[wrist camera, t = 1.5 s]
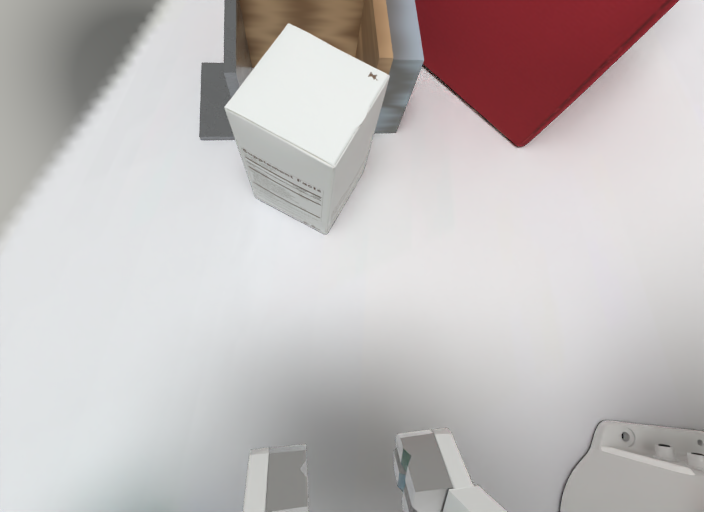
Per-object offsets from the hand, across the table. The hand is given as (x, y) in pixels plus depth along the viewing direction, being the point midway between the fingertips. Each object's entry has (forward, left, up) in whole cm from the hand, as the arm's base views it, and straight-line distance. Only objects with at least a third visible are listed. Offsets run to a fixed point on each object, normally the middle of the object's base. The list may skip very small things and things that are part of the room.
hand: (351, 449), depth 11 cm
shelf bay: (-2, -32, -25) cm, 41 cm away
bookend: (+9, -31, -25) cm, 41 cm away
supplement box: (0, -21, -26) cm, 33 cm away
